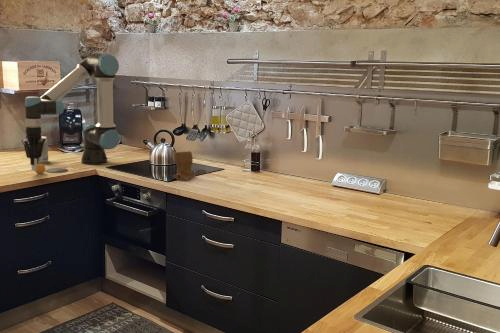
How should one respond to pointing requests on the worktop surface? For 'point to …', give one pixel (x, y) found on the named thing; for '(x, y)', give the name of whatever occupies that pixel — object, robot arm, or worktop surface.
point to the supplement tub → (44, 152)
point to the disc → (56, 170)
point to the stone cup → (184, 165)
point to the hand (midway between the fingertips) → (34, 170)
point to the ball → (40, 168)
